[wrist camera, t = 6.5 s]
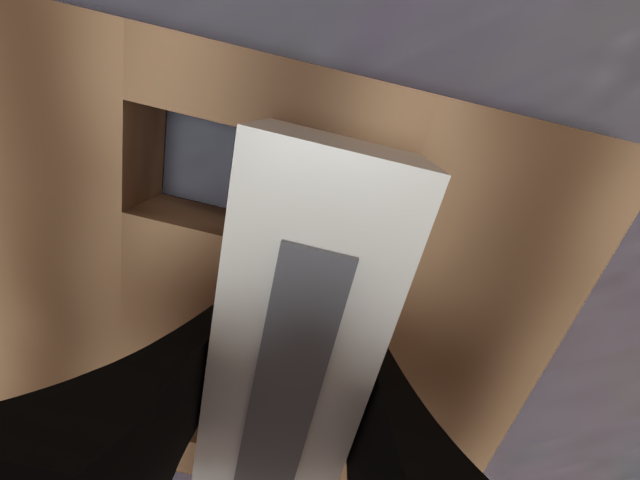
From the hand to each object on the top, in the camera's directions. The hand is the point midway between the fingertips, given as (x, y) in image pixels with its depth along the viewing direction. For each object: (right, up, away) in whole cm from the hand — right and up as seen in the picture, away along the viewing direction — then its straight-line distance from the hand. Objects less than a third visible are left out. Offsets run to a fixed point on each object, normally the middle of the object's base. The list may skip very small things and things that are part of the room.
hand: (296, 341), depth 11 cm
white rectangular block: (0, +1, +2) cm, 2 cm away
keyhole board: (-2, +1, +3) cm, 3 cm away
